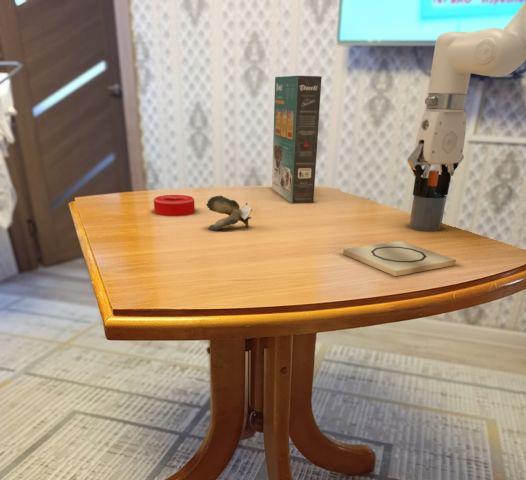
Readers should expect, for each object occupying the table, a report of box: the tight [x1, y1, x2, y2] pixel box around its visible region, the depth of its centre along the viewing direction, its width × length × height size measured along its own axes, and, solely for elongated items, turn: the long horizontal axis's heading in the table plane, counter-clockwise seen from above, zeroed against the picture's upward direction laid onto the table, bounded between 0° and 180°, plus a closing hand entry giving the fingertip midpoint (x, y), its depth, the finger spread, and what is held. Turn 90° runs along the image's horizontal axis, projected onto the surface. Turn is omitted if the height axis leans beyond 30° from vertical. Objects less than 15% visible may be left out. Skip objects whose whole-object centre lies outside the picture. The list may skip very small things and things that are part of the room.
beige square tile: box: [342, 240, 457, 277], centre depth 91 cm, size 14×14×1 cm
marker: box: [425, 169, 440, 198], centre depth 111 cm, size 2×2×12 cm
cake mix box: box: [271, 75, 323, 204], centre depth 139 cm, size 22×6×30 cm, turn 13°
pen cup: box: [408, 193, 447, 232], centre depth 113 cm, size 7×7×7 cm
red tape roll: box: [153, 194, 196, 217], centre depth 123 cm, size 10×10×3 cm
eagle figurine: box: [206, 195, 253, 231], centre depth 109 cm, size 8×7×9 cm
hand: (430, 194), depth 111 cm, fingers open, 6 cm apart
